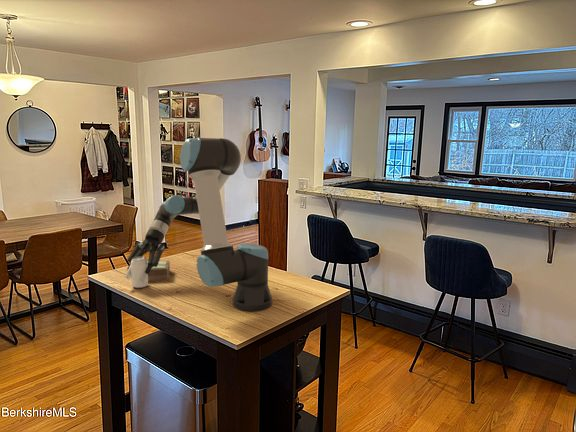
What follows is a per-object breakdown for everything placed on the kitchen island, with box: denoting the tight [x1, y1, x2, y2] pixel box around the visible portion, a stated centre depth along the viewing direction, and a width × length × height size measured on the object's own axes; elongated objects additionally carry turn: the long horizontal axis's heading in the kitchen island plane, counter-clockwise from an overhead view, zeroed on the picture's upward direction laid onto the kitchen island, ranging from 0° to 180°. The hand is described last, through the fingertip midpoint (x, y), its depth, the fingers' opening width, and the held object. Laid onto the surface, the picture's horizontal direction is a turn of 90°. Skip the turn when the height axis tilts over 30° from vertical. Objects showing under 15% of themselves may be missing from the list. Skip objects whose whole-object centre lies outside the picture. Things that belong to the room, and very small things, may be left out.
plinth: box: [147, 260, 171, 282], centre depth 189 cm, size 13×11×5 cm
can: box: [131, 255, 149, 289], centre depth 175 cm, size 6×6×12 cm
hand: (134, 279), depth 172 cm, fingers closed on can, 6 cm apart
